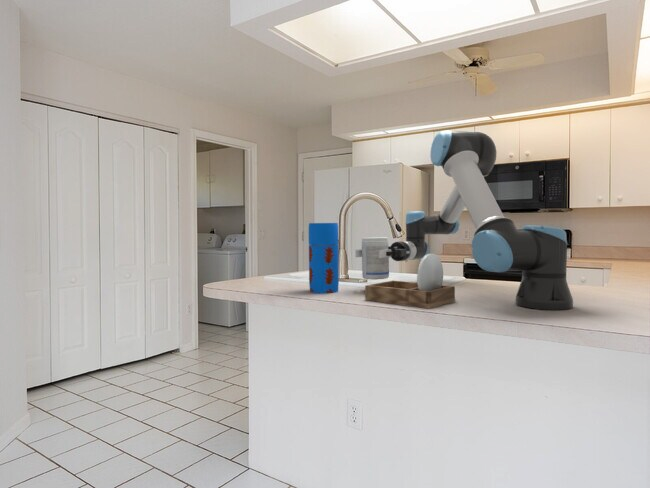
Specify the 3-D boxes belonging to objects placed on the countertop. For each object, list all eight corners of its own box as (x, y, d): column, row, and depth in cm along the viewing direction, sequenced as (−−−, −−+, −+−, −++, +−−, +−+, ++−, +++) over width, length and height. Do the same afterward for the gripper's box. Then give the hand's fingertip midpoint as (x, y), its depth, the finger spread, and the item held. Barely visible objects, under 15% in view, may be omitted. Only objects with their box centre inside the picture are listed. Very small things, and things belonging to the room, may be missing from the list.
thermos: (316, 294, 157) (315, 223, 156) (304, 290, 167) (304, 223, 166) (343, 292, 162) (343, 222, 161) (331, 288, 171) (330, 223, 170)
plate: (443, 296, 142) (443, 252, 141) (420, 302, 132) (420, 255, 131) (439, 296, 143) (439, 252, 142) (417, 302, 132) (417, 254, 132)
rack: (454, 301, 140) (454, 286, 140) (429, 308, 129) (429, 292, 128) (393, 293, 156) (393, 280, 156) (365, 299, 144) (365, 285, 144)
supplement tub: (394, 278, 159) (394, 237, 159) (373, 280, 154) (373, 237, 154) (376, 276, 167) (376, 237, 167) (356, 278, 162) (356, 237, 162)
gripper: (427, 261, 167) (394, 265, 150) (379, 259, 181) (343, 263, 165) (427, 241, 166) (394, 243, 150) (378, 241, 181) (343, 242, 165)
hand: (367, 253), depth 157 cm, fingers closed on supplement tub, 9 cm apart
